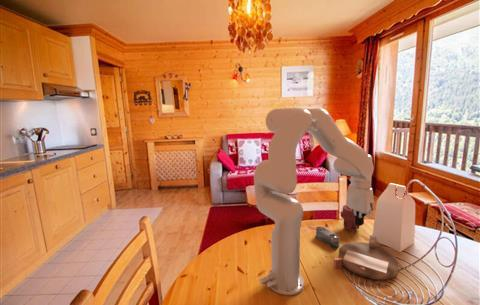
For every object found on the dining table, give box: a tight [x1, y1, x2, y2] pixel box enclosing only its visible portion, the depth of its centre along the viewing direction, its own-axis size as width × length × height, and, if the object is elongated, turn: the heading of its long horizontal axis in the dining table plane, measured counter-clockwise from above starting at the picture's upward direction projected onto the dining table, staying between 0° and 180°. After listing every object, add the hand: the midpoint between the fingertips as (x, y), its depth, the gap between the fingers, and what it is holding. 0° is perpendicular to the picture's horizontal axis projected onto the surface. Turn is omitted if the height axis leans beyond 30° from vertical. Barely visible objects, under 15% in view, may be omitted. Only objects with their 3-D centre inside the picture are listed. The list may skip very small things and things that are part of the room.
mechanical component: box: [340, 204, 360, 234], centre depth 118 cm, size 12×10×10 cm
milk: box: [372, 182, 416, 253], centre depth 106 cm, size 12×12×26 cm
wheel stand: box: [333, 256, 343, 270], centre depth 92 cm, size 15×8×4 cm, turn 116°
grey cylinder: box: [315, 226, 340, 249], centre depth 109 cm, size 4×12×4 cm, turn 26°
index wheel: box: [338, 234, 399, 280], centre depth 92 cm, size 20×20×6 cm
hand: (359, 224), depth 104 cm, fingers closed
